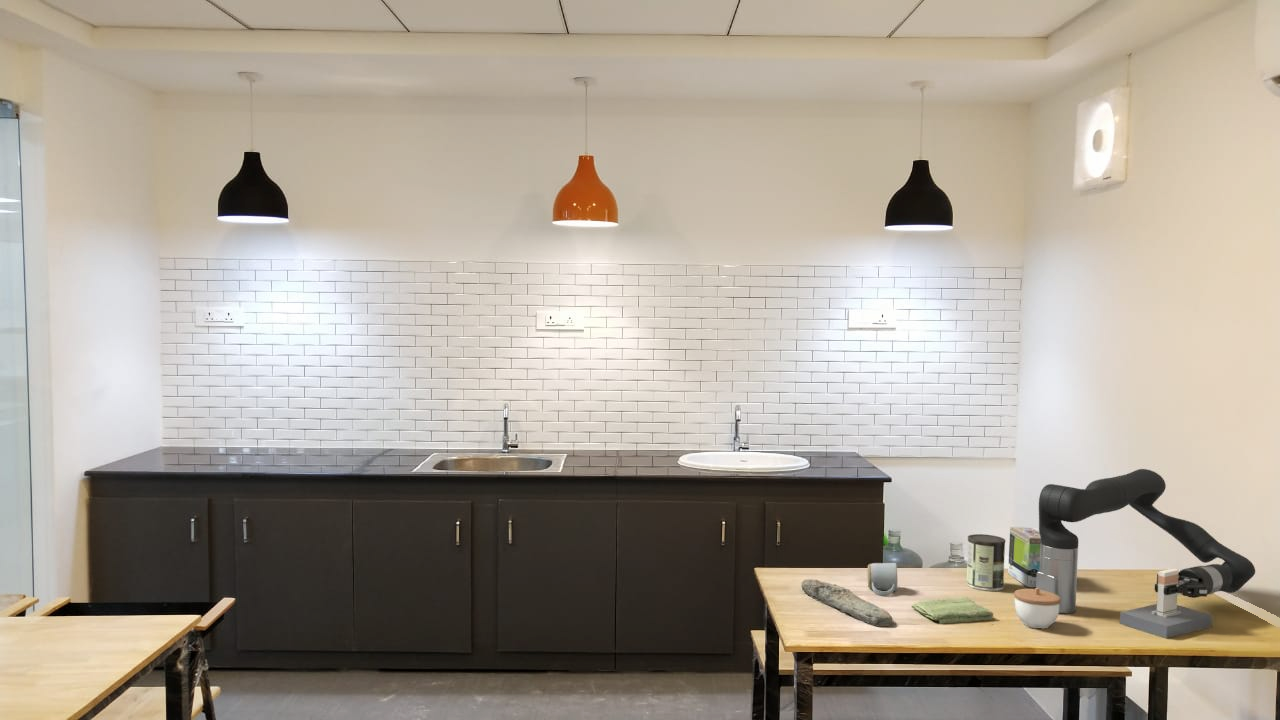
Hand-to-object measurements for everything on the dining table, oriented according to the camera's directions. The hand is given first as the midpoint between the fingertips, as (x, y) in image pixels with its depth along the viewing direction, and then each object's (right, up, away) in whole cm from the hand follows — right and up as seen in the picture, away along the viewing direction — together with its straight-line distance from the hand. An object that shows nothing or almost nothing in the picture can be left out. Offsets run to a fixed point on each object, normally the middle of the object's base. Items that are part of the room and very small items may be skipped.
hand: (1160, 589), depth 233 cm
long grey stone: (-78, -8, +12) cm, 79 cm away
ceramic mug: (-63, -7, +27) cm, 69 cm away
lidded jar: (-32, -9, 0) cm, 33 cm away
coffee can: (-32, -8, +34) cm, 47 cm away
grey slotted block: (+2, -10, +2) cm, 10 cm away
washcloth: (-51, -9, +7) cm, 52 cm away
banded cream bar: (+2, -9, +2) cm, 10 cm away
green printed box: (-15, -8, +40) cm, 43 cm away
